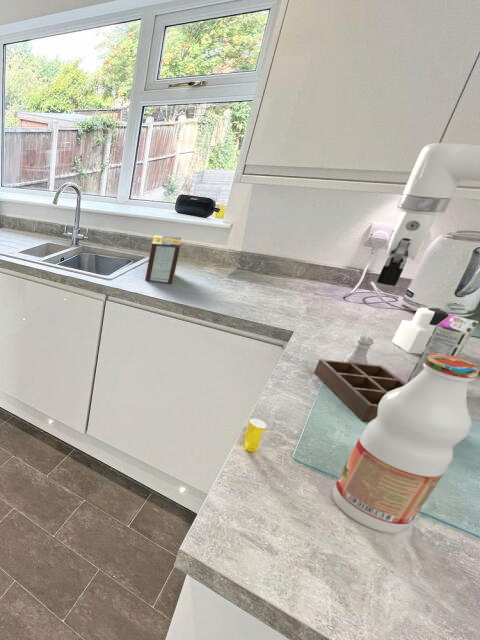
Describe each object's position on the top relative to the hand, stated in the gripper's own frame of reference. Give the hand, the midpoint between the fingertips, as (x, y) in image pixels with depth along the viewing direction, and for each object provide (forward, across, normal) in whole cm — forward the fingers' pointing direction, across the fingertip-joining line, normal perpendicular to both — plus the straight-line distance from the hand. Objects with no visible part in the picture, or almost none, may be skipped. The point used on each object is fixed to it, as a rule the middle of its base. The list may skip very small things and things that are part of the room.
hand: (387, 279), depth 97 cm
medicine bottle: (+25, +28, -11) cm, 39 cm away
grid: (+24, -13, -6) cm, 28 cm away
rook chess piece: (+25, +4, -1) cm, 25 cm away
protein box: (+25, +36, +66) cm, 79 cm away
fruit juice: (+25, -54, -10) cm, 60 cm away
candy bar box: (+25, +6, -14) cm, 29 cm away
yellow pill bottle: (+25, -52, +8) cm, 58 cm away
